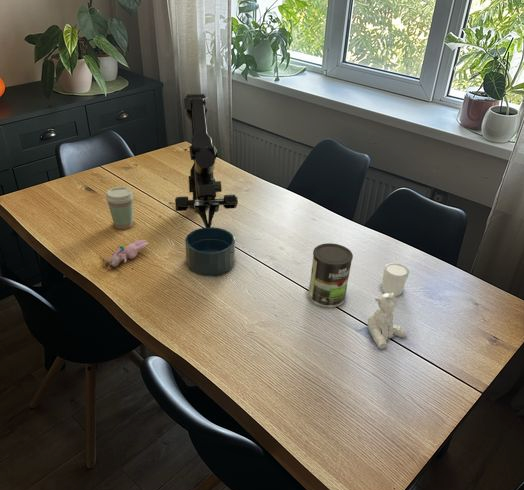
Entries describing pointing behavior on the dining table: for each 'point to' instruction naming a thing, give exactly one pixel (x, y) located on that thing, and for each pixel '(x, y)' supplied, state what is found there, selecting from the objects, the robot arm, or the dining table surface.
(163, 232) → the dining table surface
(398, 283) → the white candle jar
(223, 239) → the bowl
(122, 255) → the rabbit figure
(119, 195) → the coffee cup
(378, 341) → the seated beast figurine
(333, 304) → the coffee can
